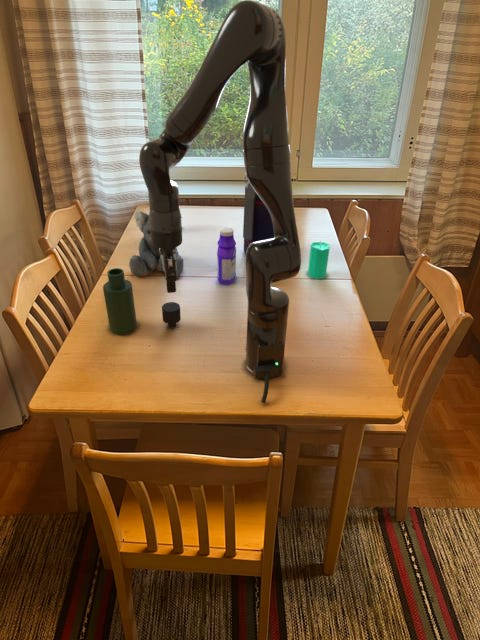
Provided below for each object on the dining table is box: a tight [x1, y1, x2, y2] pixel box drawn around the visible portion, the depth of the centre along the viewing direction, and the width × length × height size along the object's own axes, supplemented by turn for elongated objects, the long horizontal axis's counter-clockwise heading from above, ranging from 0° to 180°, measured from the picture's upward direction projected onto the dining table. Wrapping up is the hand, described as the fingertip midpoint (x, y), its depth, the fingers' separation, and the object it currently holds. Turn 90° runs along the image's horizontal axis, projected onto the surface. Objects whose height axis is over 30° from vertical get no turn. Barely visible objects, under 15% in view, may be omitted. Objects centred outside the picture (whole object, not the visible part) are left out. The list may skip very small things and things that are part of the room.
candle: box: [307, 241, 331, 280], centre depth 152 cm, size 6×6×12 cm
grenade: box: [242, 175, 274, 255], centre depth 159 cm, size 14×12×30 cm
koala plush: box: [128, 210, 184, 278], centre depth 153 cm, size 17×18×20 cm
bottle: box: [216, 226, 237, 285], centre depth 146 cm, size 7×6×17 cm
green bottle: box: [102, 267, 138, 336], centre depth 124 cm, size 7×7×17 cm
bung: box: [161, 301, 182, 329], centre depth 128 cm, size 5×5×6 cm
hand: (169, 283), depth 122 cm, fingers open, 8 cm apart
